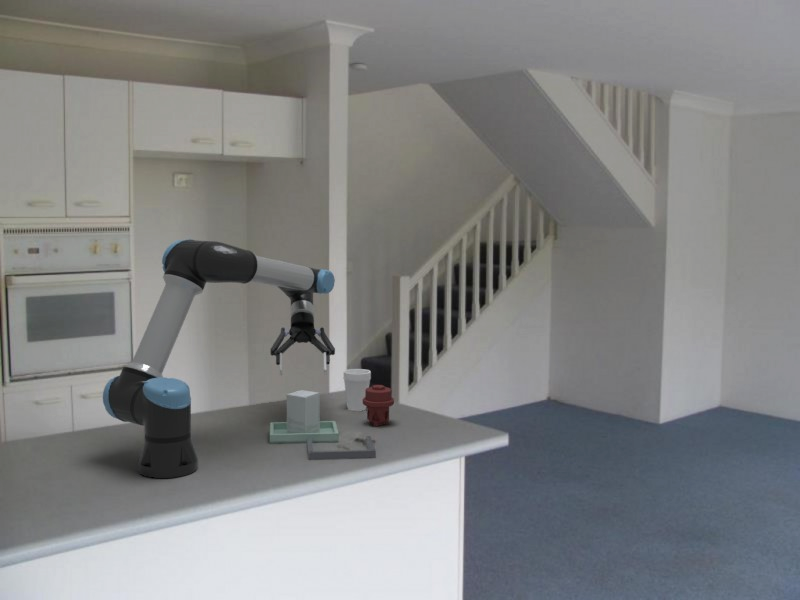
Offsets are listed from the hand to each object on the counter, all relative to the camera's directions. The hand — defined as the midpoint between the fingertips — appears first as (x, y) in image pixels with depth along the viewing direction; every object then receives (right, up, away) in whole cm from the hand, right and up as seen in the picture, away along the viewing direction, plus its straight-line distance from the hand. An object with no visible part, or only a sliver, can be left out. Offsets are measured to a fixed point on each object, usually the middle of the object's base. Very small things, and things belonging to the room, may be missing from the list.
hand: (303, 372), depth 256 cm
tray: (+1, -19, -7) cm, 20 cm away
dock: (+13, -20, -21) cm, 32 cm away
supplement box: (+1, -18, -7) cm, 20 cm away
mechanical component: (+23, -17, +8) cm, 30 cm away
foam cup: (+15, -15, +27) cm, 35 cm away
